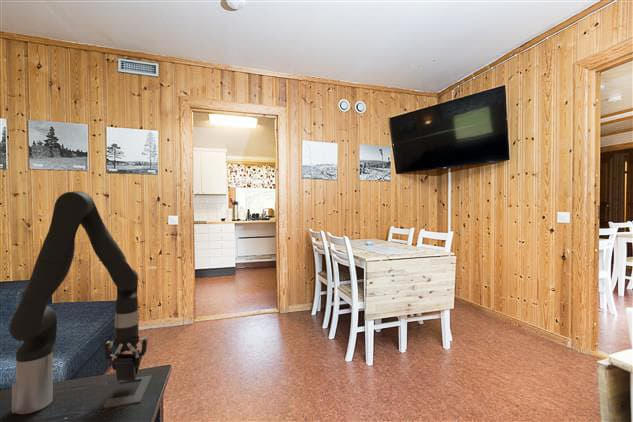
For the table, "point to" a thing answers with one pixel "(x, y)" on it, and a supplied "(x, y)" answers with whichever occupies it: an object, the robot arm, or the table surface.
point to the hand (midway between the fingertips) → (126, 367)
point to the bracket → (130, 399)
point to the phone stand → (125, 367)
